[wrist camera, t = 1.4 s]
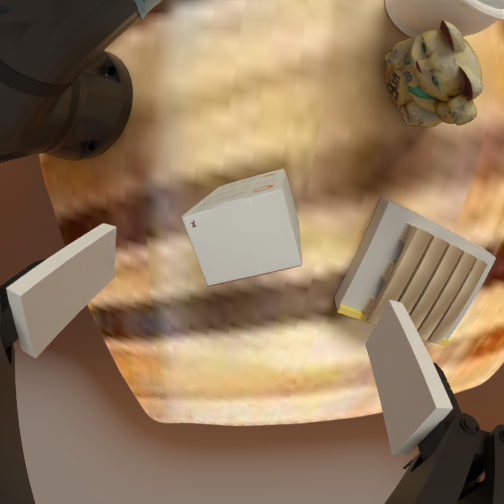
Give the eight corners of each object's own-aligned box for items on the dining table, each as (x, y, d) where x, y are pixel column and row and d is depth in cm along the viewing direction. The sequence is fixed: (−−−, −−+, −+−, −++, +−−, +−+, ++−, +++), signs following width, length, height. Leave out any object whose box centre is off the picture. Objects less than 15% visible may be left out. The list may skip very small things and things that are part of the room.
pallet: (362, 310, 35) (366, 321, 33) (407, 220, 31) (415, 227, 28) (434, 333, 35) (440, 344, 33) (479, 257, 31) (488, 265, 28)
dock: (334, 297, 38) (337, 312, 35) (381, 196, 33) (390, 203, 30) (437, 331, 38) (446, 346, 35) (485, 249, 33) (498, 259, 30)
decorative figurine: (366, 55, 27) (412, 9, 13) (424, 42, 25) (490, 4, 11) (398, 133, 30) (465, 137, 16) (454, 116, 28) (533, 117, 14)
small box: (233, 236, 37) (205, 288, 25) (217, 186, 35) (178, 215, 23) (300, 220, 35) (303, 267, 23) (285, 167, 33) (281, 186, 21)
